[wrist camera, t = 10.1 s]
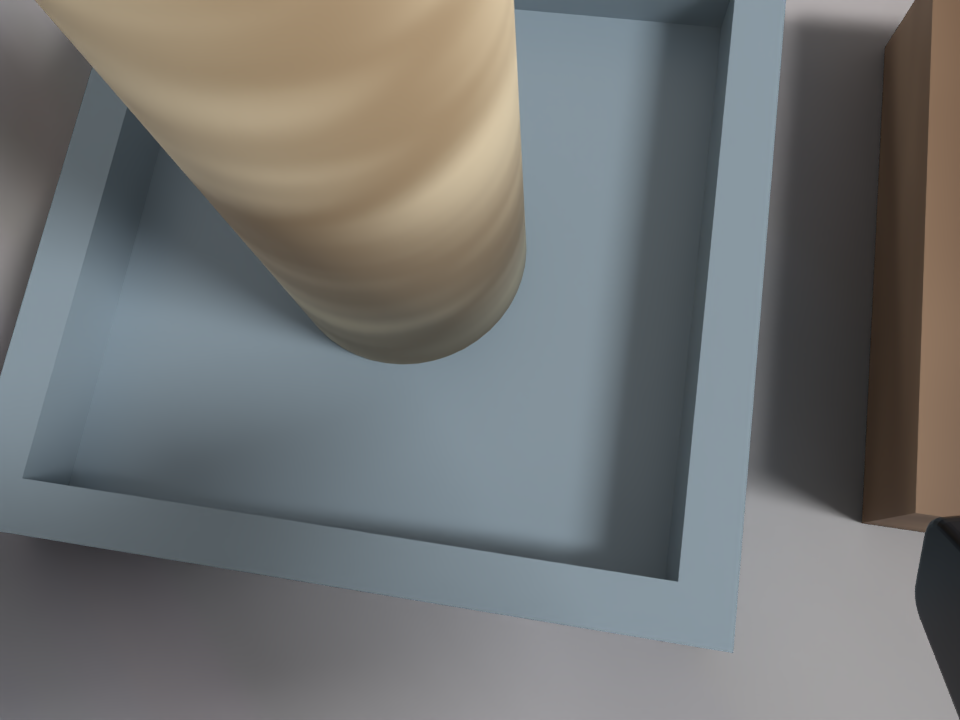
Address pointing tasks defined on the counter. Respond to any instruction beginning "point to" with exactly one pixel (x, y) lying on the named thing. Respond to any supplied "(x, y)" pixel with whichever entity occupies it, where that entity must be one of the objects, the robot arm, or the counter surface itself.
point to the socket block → (917, 279)
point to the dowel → (340, 148)
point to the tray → (440, 383)
